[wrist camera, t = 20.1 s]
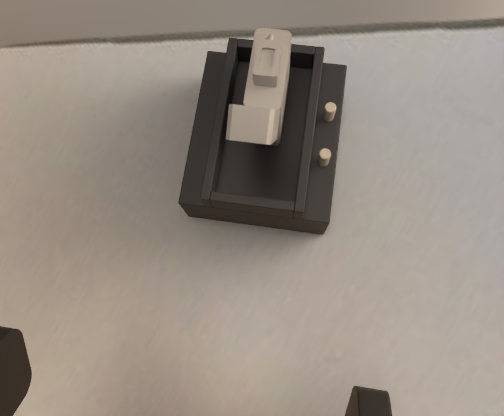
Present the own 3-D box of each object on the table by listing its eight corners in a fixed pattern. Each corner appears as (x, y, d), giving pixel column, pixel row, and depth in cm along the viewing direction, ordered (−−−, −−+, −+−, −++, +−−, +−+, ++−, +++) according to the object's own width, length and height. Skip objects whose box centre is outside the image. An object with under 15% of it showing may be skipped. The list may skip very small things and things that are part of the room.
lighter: (258, 74, 26) (251, -31, 19) (289, 77, 26) (294, -27, 19) (239, 194, 25) (223, 133, 17) (272, 198, 25) (270, 139, 17)
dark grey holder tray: (188, 216, 28) (171, 195, 23) (214, 77, 30) (203, 34, 26) (323, 234, 27) (332, 216, 23) (340, 91, 29) (351, 49, 25)
